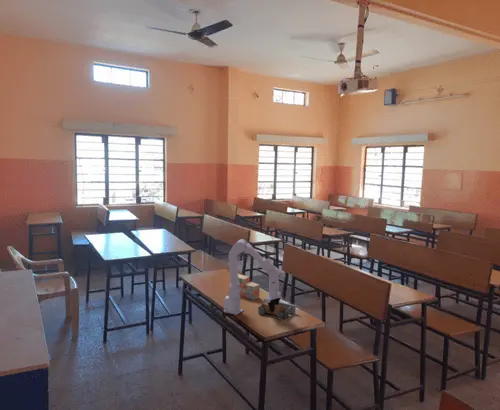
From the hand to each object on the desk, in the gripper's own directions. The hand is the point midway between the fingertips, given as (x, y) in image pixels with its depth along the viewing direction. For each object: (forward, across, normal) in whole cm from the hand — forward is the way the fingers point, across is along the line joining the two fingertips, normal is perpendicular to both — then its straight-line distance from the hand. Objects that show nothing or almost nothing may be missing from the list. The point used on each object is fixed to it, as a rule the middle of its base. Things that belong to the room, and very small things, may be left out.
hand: (273, 310), depth 228 cm
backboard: (+3, +6, 0) cm, 7 cm away
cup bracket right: (+3, 0, -6) cm, 7 cm away
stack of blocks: (+3, +19, +31) cm, 37 cm away
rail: (+2, 0, 0) cm, 2 cm away
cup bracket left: (+3, 0, +6) cm, 7 cm away
